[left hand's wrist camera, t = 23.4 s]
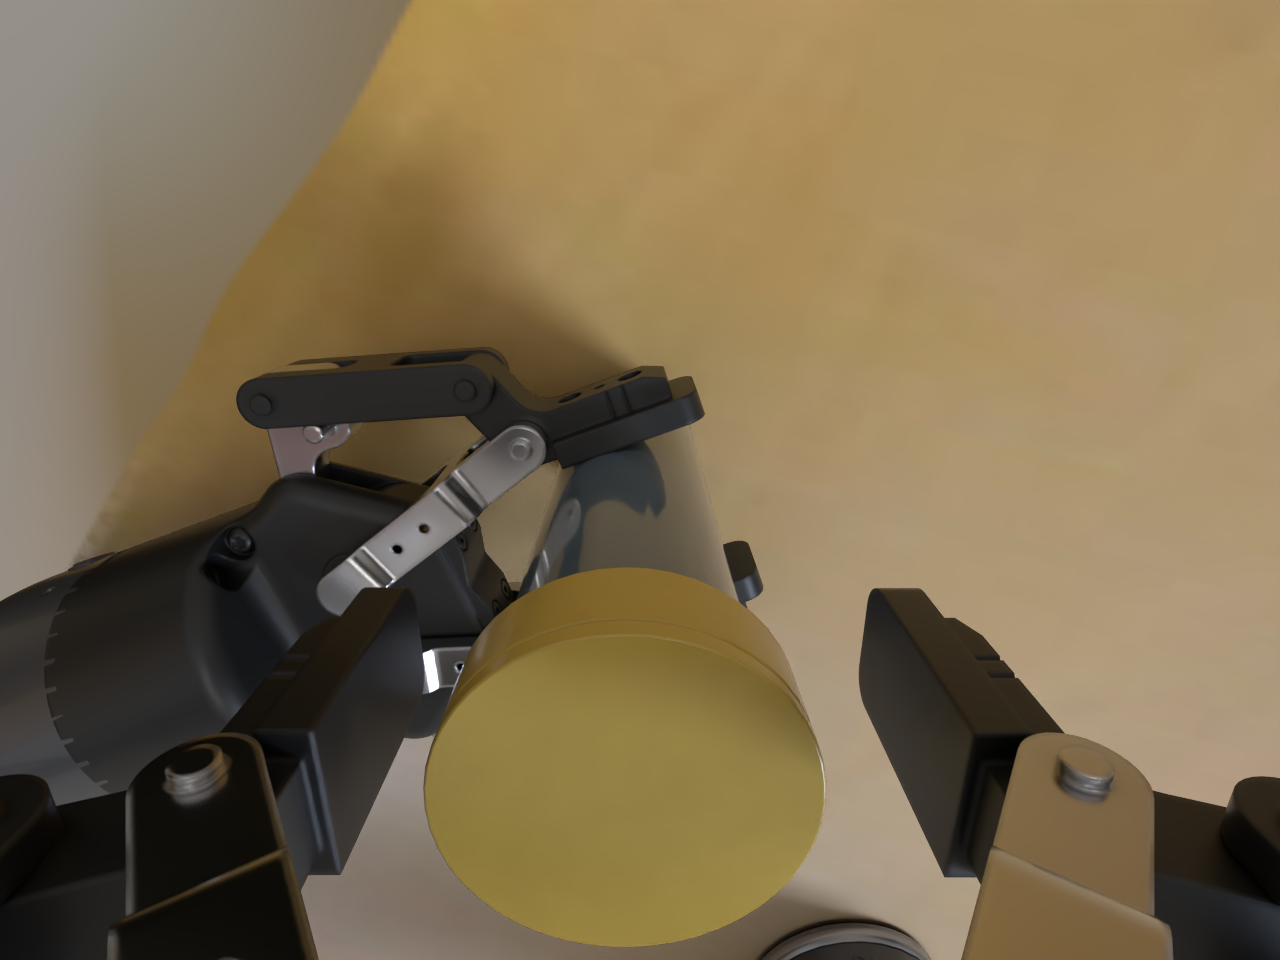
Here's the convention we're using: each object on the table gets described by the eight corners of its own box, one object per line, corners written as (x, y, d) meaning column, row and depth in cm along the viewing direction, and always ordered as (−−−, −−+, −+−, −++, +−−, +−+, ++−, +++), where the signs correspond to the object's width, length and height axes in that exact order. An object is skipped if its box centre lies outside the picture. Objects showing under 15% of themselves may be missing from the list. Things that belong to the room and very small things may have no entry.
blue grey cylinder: (569, 380, 24) (467, 625, 9) (697, 387, 24) (797, 638, 9) (567, 499, 25) (477, 871, 11) (687, 504, 25) (759, 880, 11)
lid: (809, 561, 10) (845, 631, 8) (785, 842, 12) (811, 945, 10) (437, 567, 10) (396, 636, 8) (472, 846, 12) (445, 951, 10)
